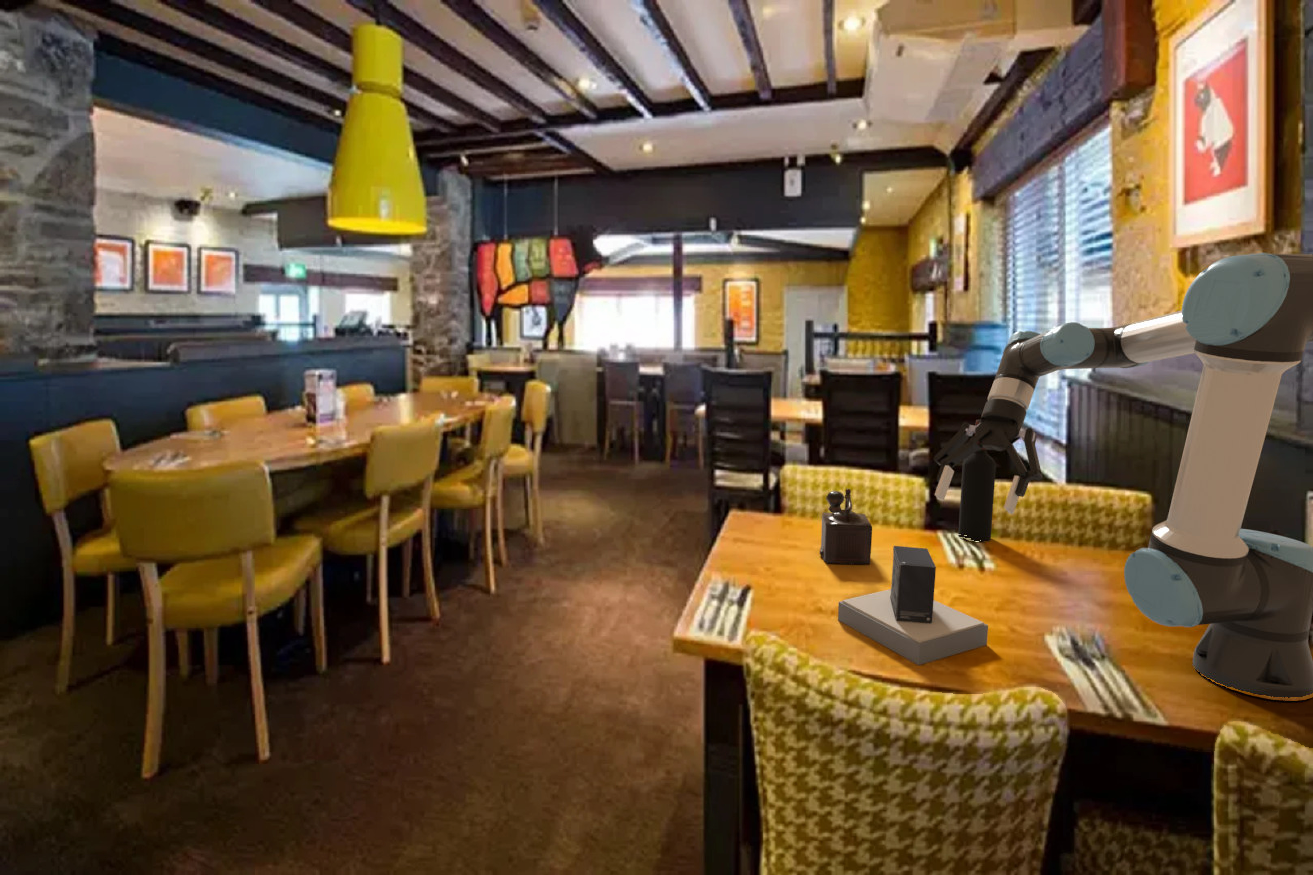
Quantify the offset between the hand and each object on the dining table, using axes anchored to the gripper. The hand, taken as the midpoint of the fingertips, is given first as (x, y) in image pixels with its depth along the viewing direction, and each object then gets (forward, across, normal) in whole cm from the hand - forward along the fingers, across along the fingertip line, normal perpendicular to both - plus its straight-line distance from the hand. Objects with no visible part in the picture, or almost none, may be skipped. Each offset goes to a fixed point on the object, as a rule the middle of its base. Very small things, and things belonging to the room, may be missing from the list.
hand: (972, 504), depth 139 cm
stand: (+27, +2, +3) cm, 27 cm away
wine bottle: (-7, +21, -48) cm, 53 cm away
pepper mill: (+14, +32, -16) cm, 39 cm away
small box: (+24, +2, +5) cm, 24 cm away
